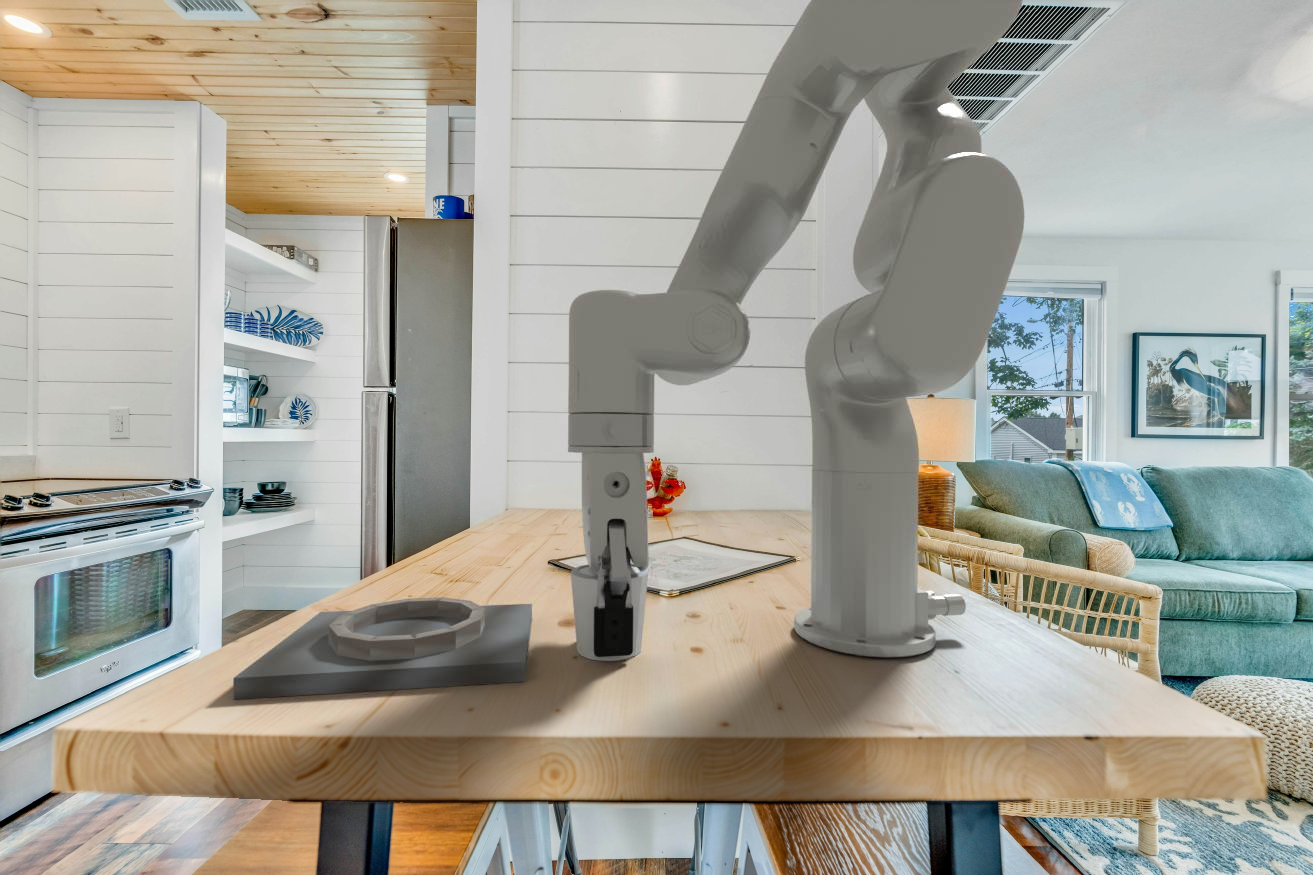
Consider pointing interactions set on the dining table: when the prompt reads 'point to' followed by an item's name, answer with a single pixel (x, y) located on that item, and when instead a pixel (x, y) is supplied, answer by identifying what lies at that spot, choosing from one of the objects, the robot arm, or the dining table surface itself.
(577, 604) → the white cup
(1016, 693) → the dining table surface
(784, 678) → the dining table surface
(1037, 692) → the dining table surface
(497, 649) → the ring board
